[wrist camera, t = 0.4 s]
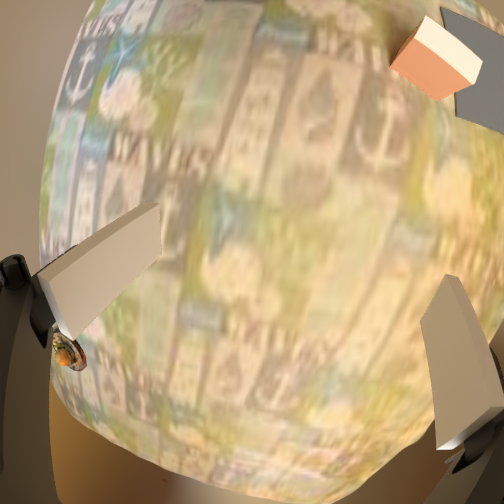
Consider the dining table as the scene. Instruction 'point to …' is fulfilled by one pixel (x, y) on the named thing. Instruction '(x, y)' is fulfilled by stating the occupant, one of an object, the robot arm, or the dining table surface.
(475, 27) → the mat
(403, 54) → the block
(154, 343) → the dining table surface
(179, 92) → the dining table surface
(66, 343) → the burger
